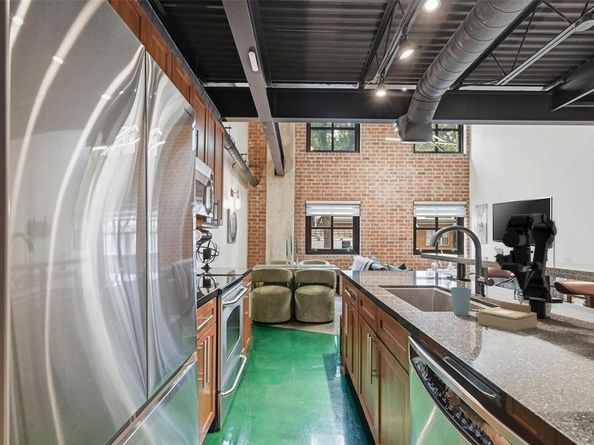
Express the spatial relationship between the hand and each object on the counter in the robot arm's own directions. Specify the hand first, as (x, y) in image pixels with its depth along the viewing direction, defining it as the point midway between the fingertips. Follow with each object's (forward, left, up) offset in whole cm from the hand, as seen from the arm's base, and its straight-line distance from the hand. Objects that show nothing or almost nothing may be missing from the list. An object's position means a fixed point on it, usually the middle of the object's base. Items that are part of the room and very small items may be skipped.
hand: (522, 289), depth 132 cm
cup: (+8, -20, -12) cm, 25 cm away
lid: (+11, 0, -8) cm, 13 cm away
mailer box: (+11, 0, -12) cm, 16 cm away
